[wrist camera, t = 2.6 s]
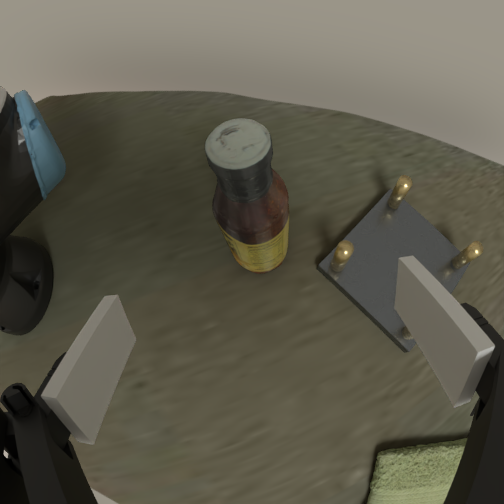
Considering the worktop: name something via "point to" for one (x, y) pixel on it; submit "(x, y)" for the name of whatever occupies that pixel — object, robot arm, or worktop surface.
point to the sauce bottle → (249, 194)
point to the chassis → (392, 260)
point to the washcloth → (416, 473)
